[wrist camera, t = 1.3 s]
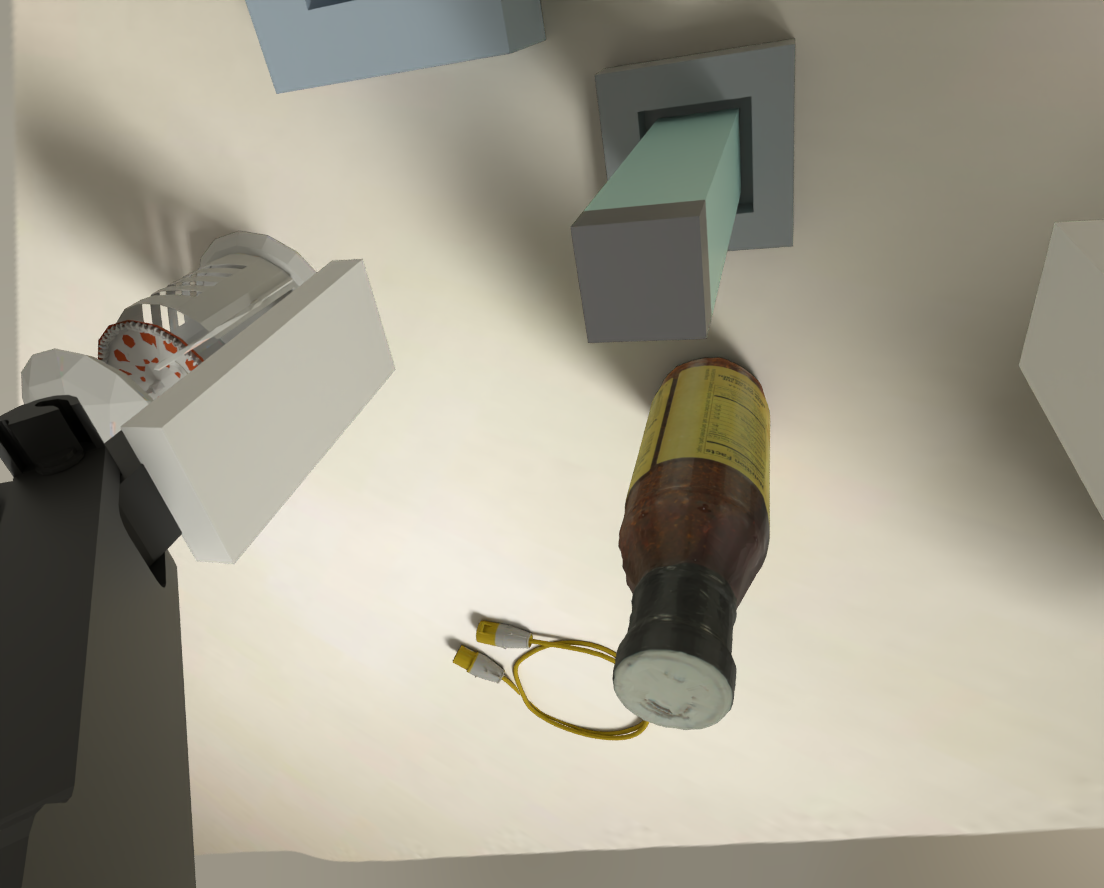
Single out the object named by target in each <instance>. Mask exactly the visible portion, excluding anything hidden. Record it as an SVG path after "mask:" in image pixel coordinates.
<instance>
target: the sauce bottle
mask: <svg viewBox="0 0 1104 888" xmlns="http://www.w3.org/2000/svg"><path fill="white" fill-rule="evenodd" d="M769 539H770V412H769V408H768V404H767V402H766V399H765V396H764V392H763V389H762V386H761V384H760V382H759V381H758V380H757V379H756V378H755V377H754V376H752V375H751V374H750V373H749V372H748V371H747V370H745V369H744V368H742V367H740V366H739V365H737V364H736V363H732V362H731V361H729V360H727V359H724V358H720V357H716V358H702V359H698V360H693V361H690V362H688V363H684V364H682V365H679V366H677V367H676V368H675V369H674V370H672V371H671V372H670V373H669V374H668V375H667V377H666V378H665V379H664V381H663V383H662V385H661V387H660V389H659V391H658V392H657V394H656V395H655V397H654V399H653V401H652V404H651V408H650V412H649V416H648V420H647V423H646V427H645V431H644V435H643V439H642V442H641V446H640V450H639V454H638V458H637V461H636V465H635V468H634V472H633V475H632V479H631V483H630V487H629V490H628V494H627V498H626V503H625V515H624V519H623V522H622V525H621V529H620V532H619V549H620V551H621V555H622V559H623V565H622V566H623V569H624V571H625V573H626V582H627V585H628V586H629V588H630V589H631V591H632V593H633V597H632V601H631V602H632V613H631V615H630V623H629V628H628V633H627V634H626V636H625V638H624V639H623V640H622V642H621V643H620V645H619V647H618V650H617V653H616V658H615V665H614V669H613V684H614V690H615V692H616V694H617V696H618V698H619V699H620V701H621V702H622V703H623V705H624V706H625V707H626V708H627V709H628V710H630V711H631V712H632V713H634V714H635V715H637V716H638V717H640V718H641V719H643V720H645V721H648V722H650V723H654V724H656V725H659V726H663V727H668V728H677V729H683V730H690V729H703V728H707V727H709V726H712V725H714V724H716V723H718V722H719V721H720V720H721V719H722V718H723V717H724V716H725V715H726V714H727V713H728V712H729V711H730V710H731V707H732V705H733V699H734V690H735V681H736V665H735V663H734V660H733V658H732V655H731V653H732V640H733V639H732V633H733V625H734V623H735V620H736V614H737V613H736V610H737V608H738V606H739V604H740V603H741V601H742V599H743V597H744V595H745V594H746V592H747V590H748V588H749V587H750V585H751V583H752V581H753V580H754V578H755V576H756V574H757V573H758V571H759V570H760V568H761V567H762V565H763V563H764V560H765V558H766V555H767V550H768V545H769Z"/></svg>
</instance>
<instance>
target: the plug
mask: <svg viewBox="0 0 1104 888" xmlns="http://www.w3.org/2000/svg"><path fill="white" fill-rule="evenodd" d="M740 194H741V160H740V123H739V108H733V109H725V110H718V111H710V112H702V113H695V114H687V115H680V116H672V117H665V118H658V119H657V120H656V122H655V123H654V124H653V125H652V127H651V128H650V129H649V130H648V131H647V133H646V134H645V135H644V136H643V138H642V139H641V140H640V141H639V143H638V144H637V145H636V146H635V148H634V149H633V150H632V151H631V153H630V154H629V155H628V156H627V158H626V159H625V160H624V161H623V163H622V164H621V165H620V166H619V168H618V169H617V170H616V171H615V173H614V174H613V175H612V176H611V178H610V179H609V180H608V181H607V183H606V184H605V185H604V186H603V187H602V189H601V190H600V191H599V192H598V194H597V195H596V196H595V197H594V199H593V200H592V201H591V202H590V204H589V205H588V206H587V207H586V209H585V210H584V211H583V212H582V214H581V215H580V216H579V217H578V219H577V220H576V221H575V222H574V224H573V225H572V226H571V233H572V240H573V246H574V253H575V260H576V266H577V273H578V279H579V286H580V292H581V299H582V305H583V312H584V318H585V325H586V331H587V338H588V343H599V342H628V341H657V340H686V339H707V335H708V331H709V326H710V322H711V318H712V314H713V309H714V305H715V301H716V297H717V292H718V288H719V284H720V280H721V275H722V271H723V267H724V262H725V258H726V254H727V250H728V245H729V241H730V237H731V233H732V228H733V224H734V220H735V216H736V211H737V207H738V203H739V199H740Z"/></svg>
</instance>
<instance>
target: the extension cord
mask: <svg viewBox="0 0 1104 888" xmlns="http://www.w3.org/2000/svg"><path fill="white" fill-rule="evenodd" d="M476 632H477V633H476V640H477V642H480V643H484V644H489V645H493V646H498V647H502V648H504V649H506V648H527V649H528V648H530V647H531V645H532V643H533V644H539V645H541V646H539V647H536V648H534V649H533V650H531V651H529V652H527V653H526V654H524V655H523V656H522V657H520V658H519V659H518V660H517V661H516V663H515V665H514V668H513V673H514V678H515V681H516V684H517V687H518V689H519V691H518V689H517V687H516V686H515V685H514V684H513V683H512V682H511V681H510V680H509V679H508V678H506V677H505V676H503V675H504V672H505V670H503V669H502V668H501V667H500V666H498V665H497V664H496V663H495V662H494V661H492V660H491V659H489V658H488V657H487V655H486V656H485V655H483V654H481V653H479V652H478V651H477V652H474V651H472V650H470V649H469V648H467V647H465V646H463V645H461V647H460V649H459V650H458V651H457V653H456V655H455V657H454V660H453V663H455V664H457V665H459V666H461V667H462V668H464V669H466V670H467V672H468V673H470V674H472V675H474V676H475V677H479V678H482V679H485V680H489V681H492V682H497V683H499V682H500V681H501V679H502V680H503V681H504V682H506V683H507V684H508V685H509V686H510V687H511V688H513V689H514V690H515V691H516V692H517V693H518V694H519V695H520V694H521V696H522V698H523V701H524V703H525V704H526V706H527V707H528V709H529V710H530V711H531V712H533V713H534V714H535V715H536V716H538V717H539V718H541V719H543V720H544V721H546V722H548V723H550V724H552V725H554V726H556V727H558V728H561V729H563V730H566V731H569V732H572V733H575V734H578V735H582V736H585V737H590V738H595V739H602V740H626V739H631V738H633V737H636V736H638V735H639V734H641V733H642V732H643V731H644V730H645V729H646V728H647V726H648V724H649V722H648V721H645V720H643V721H642V722H641V723H640V724H638V725H636V726H633V727H630V728H627V729H624V730H619V731H610V732H602V731H593V730H588V729H584V728H580V727H577V726H575V725H572V724H569V723H566V722H564V721H561V720H559V719H556V718H554V717H551V716H549V715H546V714H545V713H543V712H542V711H540V710H539V709H538V708H537V707H535V706H534V705H533V704H532V703H531V702H530V703H531V704H530V703H529V701H528V699H527V697H526V695H525V693H524V691H523V688H522V686H521V683H520V680H519V677H518V666H519V664H520V663H521V662H522V661H523V660H525V659H526V658H528V657H529V656H531V655H533V654H534V653H536V652H538V651H541V650H543V649H546V648H549V647H556V648H562V649H568V650H573V651H578V652H583V653H587V654H591V655H594V656H598V657H601V658H603V659H605V660H608V661H610V662H612V663H614V664H615V659H614V658H612V657H610V656H608V655H606V654H603V653H600V652H597V651H593V650H590V649H586V648H581V647H576V646H571V645H581V646H587V647H592V648H595V649H599V650H601V651H604V652H606V653H608V654H610V655H612V656H614V657H615V658H616V652H614V651H612V650H610V649H608V648H606V647H603V646H601V645H598V644H594V643H590V642H585V641H575V640H567V641H557V642H548V641H542V640H536V639H533V635H532V633H529V632H527V631H524V630H522V629H519V628H516V627H513V626H510V625H506V624H501V623H495V622H489V621H482V620H481V621H480V623H479V624H478V628H477V631H476ZM519 692H520V693H519ZM531 705H532V706H533V707H534V708H535V709H534V708H533V707H532V706H531ZM551 719H552V720H551ZM553 720H554V721H553ZM555 721H556V722H555ZM557 722H559V723H557ZM560 723H561V724H560ZM562 724H563V725H562ZM565 725H566V726H565ZM567 726H568V727H567ZM570 727H571V728H570ZM573 728H574V729H573ZM638 729H639V730H638ZM636 730H637V731H636ZM633 731H636V732H633ZM630 732H633V733H631V734H627V733H630ZM622 734H627V735H622ZM615 735H620V736H615Z"/></svg>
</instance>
